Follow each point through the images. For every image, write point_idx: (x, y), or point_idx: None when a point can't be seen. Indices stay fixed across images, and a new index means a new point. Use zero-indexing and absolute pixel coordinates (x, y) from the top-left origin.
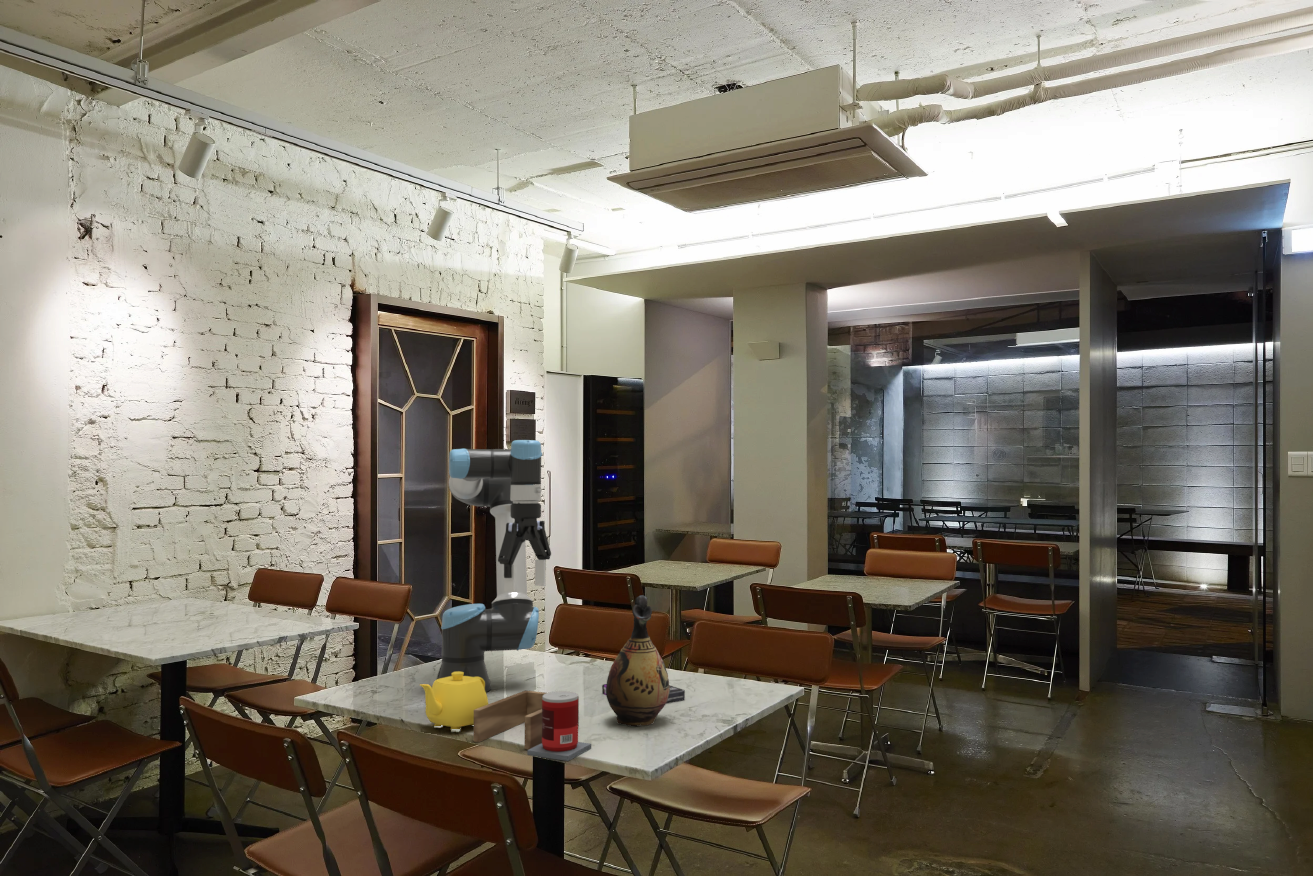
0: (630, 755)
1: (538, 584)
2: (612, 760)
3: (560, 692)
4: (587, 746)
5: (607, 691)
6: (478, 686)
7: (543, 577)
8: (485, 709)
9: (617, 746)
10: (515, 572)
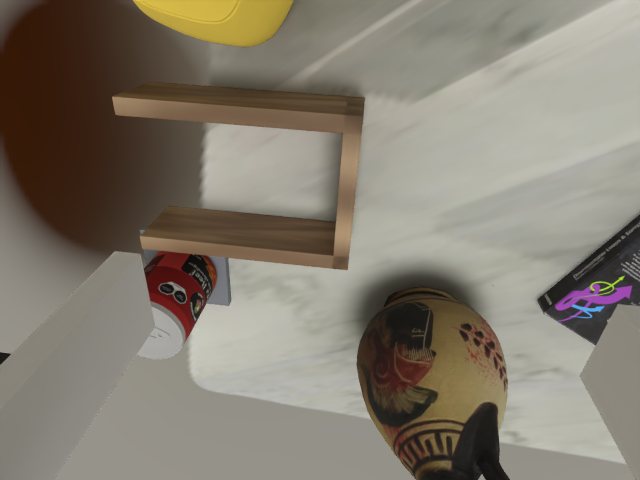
0: (229, 355)
1: (605, 344)
2: (196, 341)
3: (169, 322)
4: (215, 303)
5: (382, 323)
6: (207, 29)
7: (618, 440)
8: (143, 116)
9: (261, 329)
10: (61, 468)
